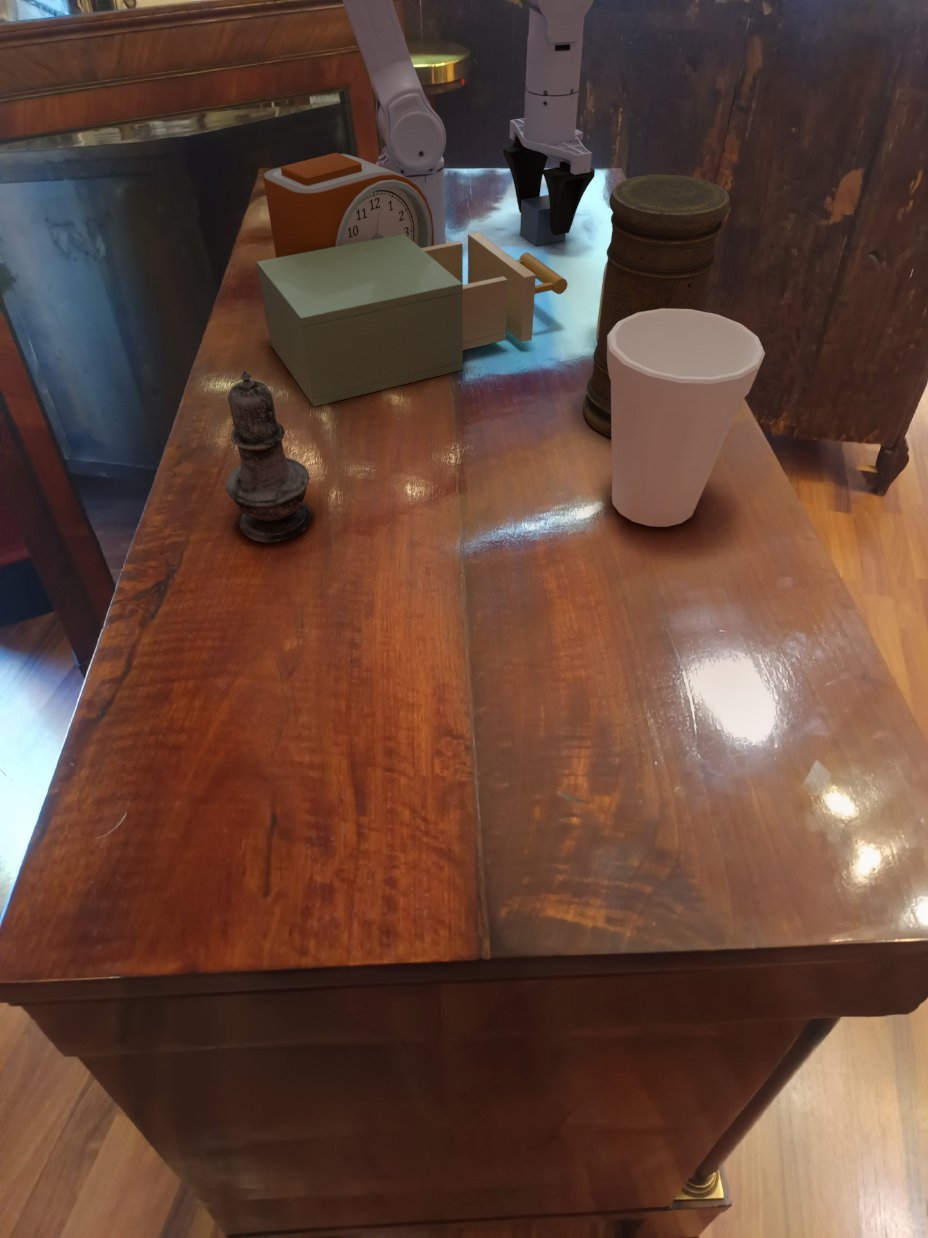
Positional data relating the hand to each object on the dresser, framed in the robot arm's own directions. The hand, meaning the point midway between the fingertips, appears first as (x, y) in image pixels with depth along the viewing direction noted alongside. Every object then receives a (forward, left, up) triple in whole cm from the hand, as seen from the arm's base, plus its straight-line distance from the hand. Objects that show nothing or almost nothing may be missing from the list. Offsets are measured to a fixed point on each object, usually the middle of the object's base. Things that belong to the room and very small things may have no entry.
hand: (543, 222), depth 97 cm
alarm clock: (+6, -26, -2) cm, 27 cm away
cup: (+49, -19, -2) cm, 53 cm away
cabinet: (+18, -30, -2) cm, 35 cm away
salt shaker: (+38, -45, -2) cm, 59 cm away
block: (0, 0, -2) cm, 2 cm away
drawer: (+18, -19, -1) cm, 26 cm away
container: (+38, -13, -2) cm, 40 cm away
